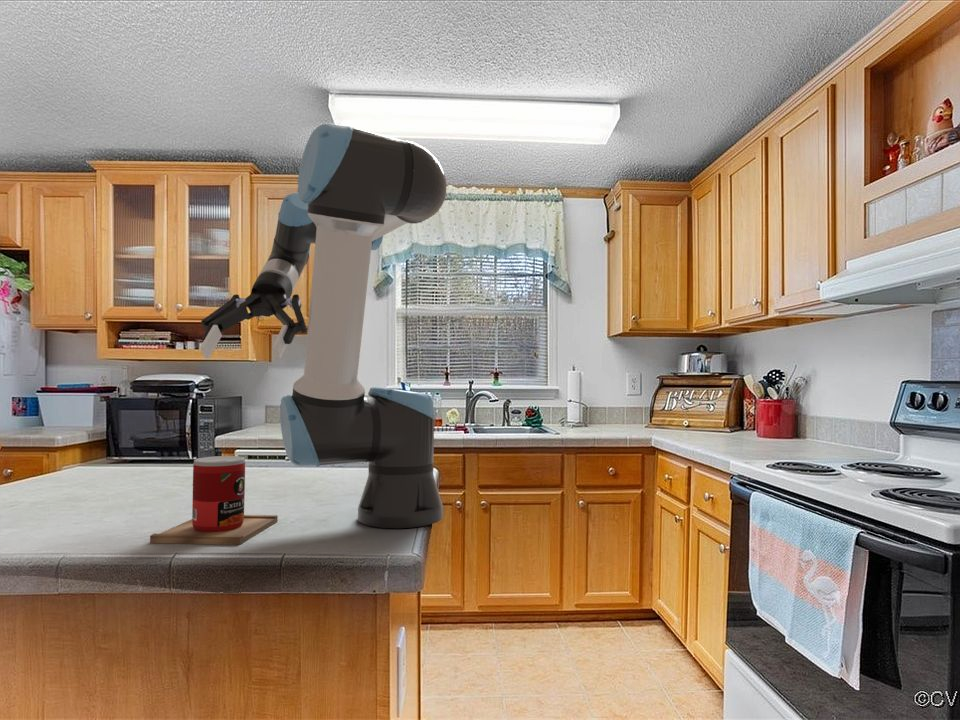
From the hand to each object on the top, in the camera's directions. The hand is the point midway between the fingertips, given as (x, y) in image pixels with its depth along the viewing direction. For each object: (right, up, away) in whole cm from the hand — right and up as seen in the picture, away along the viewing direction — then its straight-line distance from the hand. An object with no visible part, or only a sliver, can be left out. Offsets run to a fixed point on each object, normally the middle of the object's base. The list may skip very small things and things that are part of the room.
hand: (240, 353), depth 106 cm
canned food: (+1, -29, -12) cm, 31 cm away
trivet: (+1, -29, -12) cm, 32 cm away
